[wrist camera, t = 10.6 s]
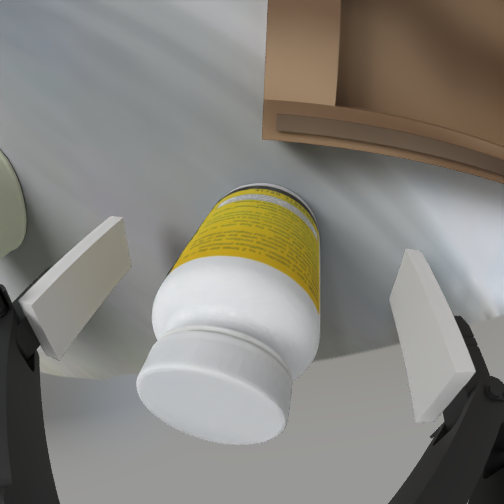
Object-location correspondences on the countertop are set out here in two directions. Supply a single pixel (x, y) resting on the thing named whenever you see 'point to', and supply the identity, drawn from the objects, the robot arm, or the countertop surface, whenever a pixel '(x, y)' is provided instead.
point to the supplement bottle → (237, 319)
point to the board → (390, 79)
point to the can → (10, 209)
